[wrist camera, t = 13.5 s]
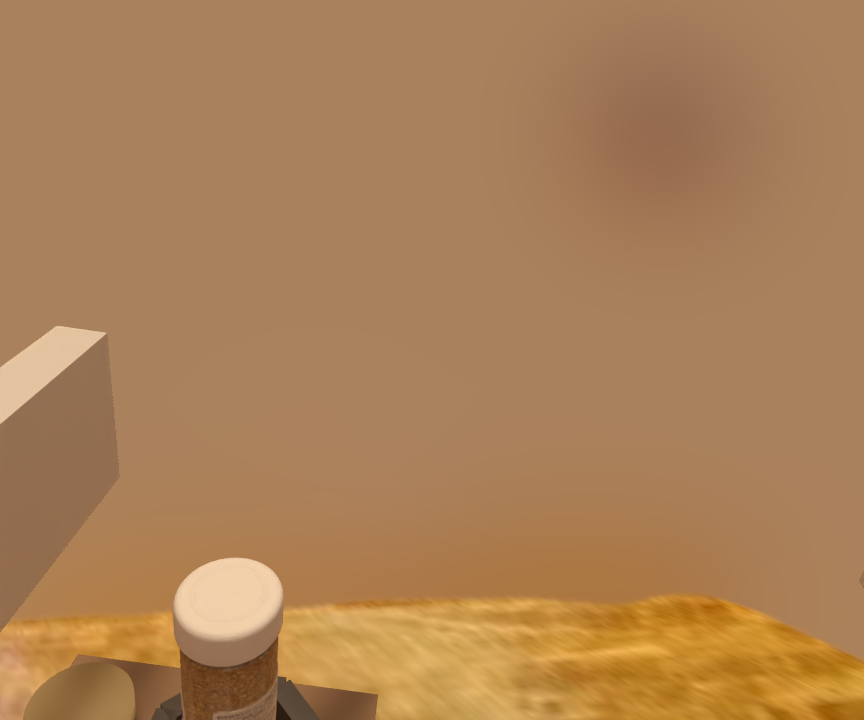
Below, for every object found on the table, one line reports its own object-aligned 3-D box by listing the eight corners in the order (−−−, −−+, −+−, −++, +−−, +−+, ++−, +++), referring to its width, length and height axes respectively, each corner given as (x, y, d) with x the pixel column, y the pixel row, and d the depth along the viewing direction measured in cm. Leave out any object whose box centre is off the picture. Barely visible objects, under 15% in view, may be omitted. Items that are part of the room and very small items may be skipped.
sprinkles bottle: (176, 757, 35) (164, 567, 29) (263, 726, 37) (268, 543, 31) (192, 844, 32) (182, 650, 26) (286, 805, 34) (297, 616, 28)
